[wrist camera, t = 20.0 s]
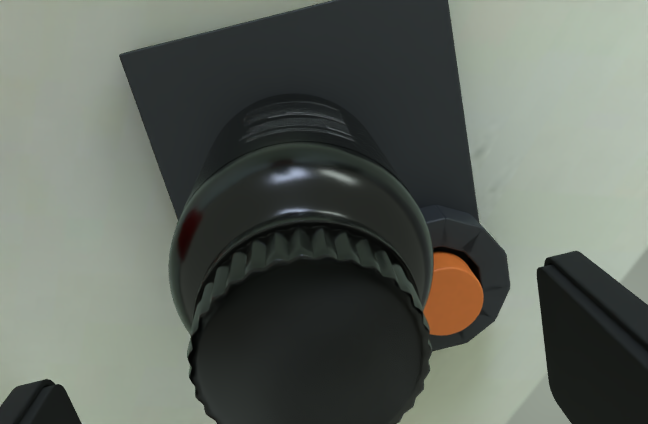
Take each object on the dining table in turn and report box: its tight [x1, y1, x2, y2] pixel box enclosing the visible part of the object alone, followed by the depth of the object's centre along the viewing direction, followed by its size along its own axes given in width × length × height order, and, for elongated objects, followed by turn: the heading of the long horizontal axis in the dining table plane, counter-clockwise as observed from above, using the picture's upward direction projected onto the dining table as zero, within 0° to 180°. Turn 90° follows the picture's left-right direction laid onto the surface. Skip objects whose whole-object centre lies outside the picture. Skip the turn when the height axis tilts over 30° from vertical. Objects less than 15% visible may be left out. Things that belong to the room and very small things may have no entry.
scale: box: [119, 0, 510, 351], centre depth 22 cm, size 14×12×3 cm
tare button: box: [423, 251, 484, 336], centre depth 22 cm, size 3×3×2 cm
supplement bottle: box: [168, 93, 434, 424], centre depth 16 cm, size 7×7×12 cm
